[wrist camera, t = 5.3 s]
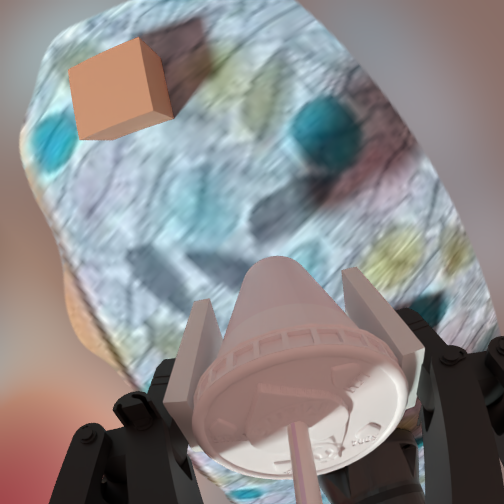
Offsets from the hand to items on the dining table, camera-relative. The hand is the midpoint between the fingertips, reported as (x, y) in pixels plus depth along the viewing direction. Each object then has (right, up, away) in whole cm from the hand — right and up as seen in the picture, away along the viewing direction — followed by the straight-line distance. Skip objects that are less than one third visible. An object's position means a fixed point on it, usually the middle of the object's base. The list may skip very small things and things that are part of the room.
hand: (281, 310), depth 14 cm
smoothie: (0, +1, +3) cm, 3 cm away
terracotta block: (-10, +14, +5) cm, 18 cm away
